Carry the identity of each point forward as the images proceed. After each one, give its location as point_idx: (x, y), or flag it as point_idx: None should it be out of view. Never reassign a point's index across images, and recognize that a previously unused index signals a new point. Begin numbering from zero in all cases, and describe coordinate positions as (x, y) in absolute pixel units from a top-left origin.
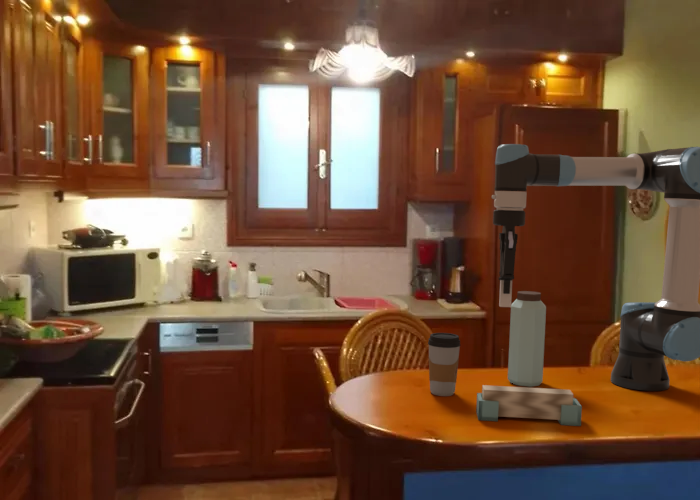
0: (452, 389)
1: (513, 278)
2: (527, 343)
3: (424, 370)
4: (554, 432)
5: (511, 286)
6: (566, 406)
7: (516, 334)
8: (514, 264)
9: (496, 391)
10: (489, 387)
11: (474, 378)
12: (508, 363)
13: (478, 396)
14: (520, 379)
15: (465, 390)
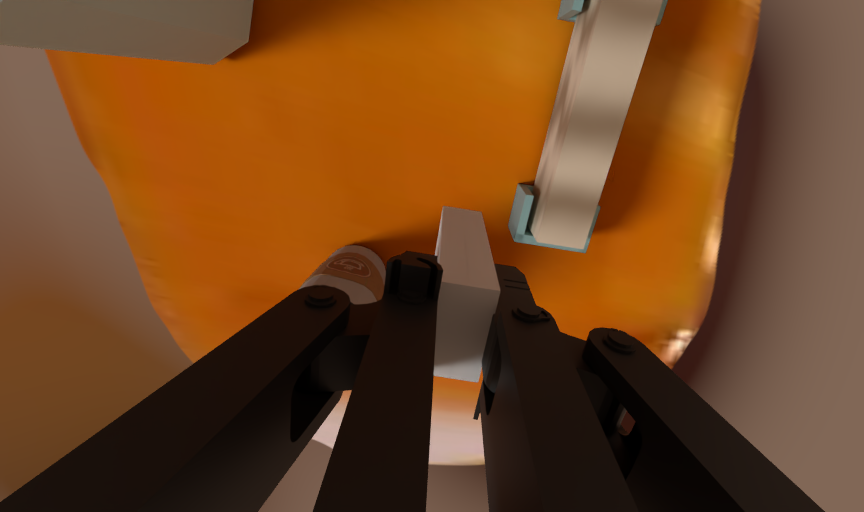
0: (376, 258)
1: (437, 269)
2: None
3: (147, 274)
4: (686, 73)
5: (492, 269)
6: (664, 9)
7: (128, 29)
8: (787, 478)
9: (592, 216)
10: (562, 229)
11: (194, 157)
12: (185, 61)
13: (547, 245)
14: (245, 30)
15: (326, 210)
